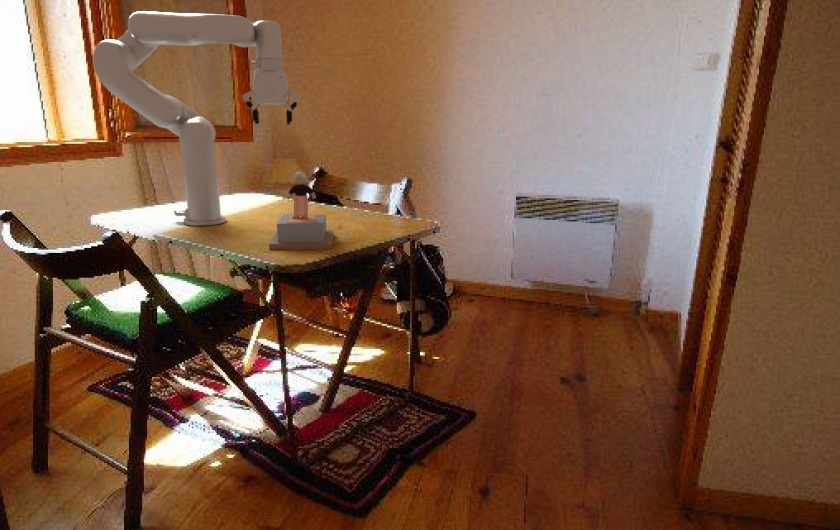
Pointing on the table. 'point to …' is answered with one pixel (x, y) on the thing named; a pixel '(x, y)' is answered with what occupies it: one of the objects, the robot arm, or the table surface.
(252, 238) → the table surface
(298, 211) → the grandmother figurine
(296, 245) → the plinth
